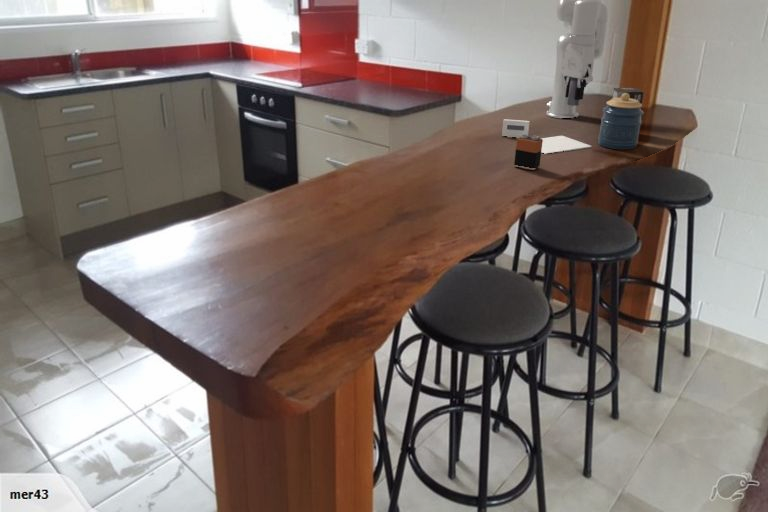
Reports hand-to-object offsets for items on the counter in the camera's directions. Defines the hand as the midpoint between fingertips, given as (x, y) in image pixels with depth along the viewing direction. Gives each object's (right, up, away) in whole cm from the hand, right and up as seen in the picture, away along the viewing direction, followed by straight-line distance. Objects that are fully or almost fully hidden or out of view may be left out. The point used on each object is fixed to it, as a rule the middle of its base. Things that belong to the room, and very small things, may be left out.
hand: (573, 97), depth 205 cm
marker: (0, -2, +1) cm, 2 cm away
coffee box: (+23, -9, +18) cm, 31 cm away
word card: (-17, -11, +14) cm, 24 cm away
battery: (-20, -26, -17) cm, 37 cm away
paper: (-5, -15, +5) cm, 17 cm away
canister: (+17, -15, +6) cm, 23 cm away
